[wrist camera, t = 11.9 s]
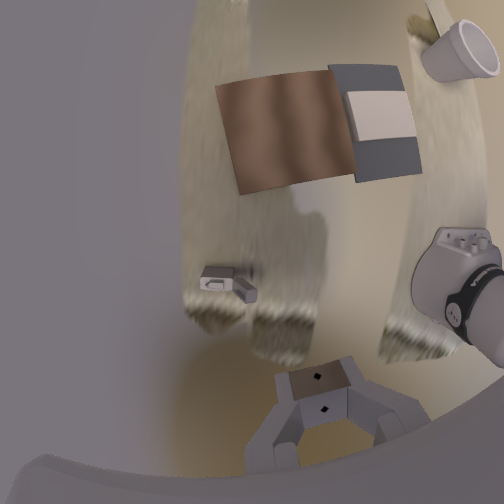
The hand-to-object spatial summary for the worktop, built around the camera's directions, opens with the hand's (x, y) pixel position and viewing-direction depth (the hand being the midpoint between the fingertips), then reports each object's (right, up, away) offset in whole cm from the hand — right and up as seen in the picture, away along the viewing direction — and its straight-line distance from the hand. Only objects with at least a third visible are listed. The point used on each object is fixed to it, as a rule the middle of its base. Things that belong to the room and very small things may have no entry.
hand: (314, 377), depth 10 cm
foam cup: (+29, +37, +21) cm, 52 cm away
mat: (+16, +24, +24) cm, 38 cm away
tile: (+16, +24, +24) cm, 37 cm away
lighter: (-6, +2, +30) cm, 30 cm away
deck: (+2, +21, +24) cm, 32 cm away
